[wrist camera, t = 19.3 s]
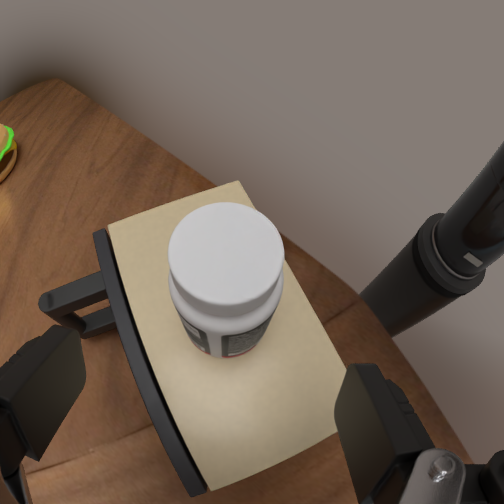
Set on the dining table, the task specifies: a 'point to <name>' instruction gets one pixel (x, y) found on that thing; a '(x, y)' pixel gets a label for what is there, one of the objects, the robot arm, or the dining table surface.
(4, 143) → the hamburger
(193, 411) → the oven
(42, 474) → the dining table surface
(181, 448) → the oven door
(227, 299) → the pill bottle
